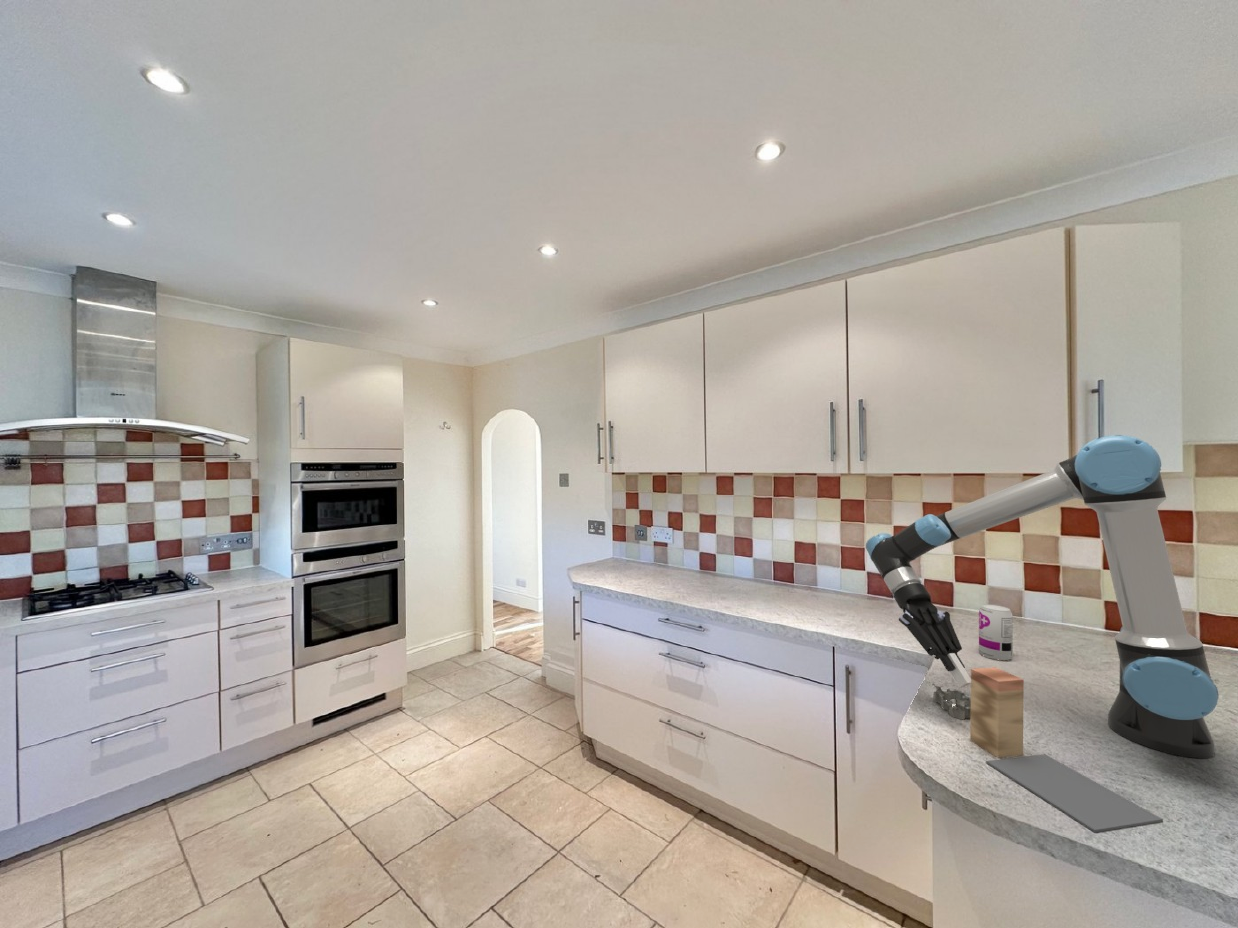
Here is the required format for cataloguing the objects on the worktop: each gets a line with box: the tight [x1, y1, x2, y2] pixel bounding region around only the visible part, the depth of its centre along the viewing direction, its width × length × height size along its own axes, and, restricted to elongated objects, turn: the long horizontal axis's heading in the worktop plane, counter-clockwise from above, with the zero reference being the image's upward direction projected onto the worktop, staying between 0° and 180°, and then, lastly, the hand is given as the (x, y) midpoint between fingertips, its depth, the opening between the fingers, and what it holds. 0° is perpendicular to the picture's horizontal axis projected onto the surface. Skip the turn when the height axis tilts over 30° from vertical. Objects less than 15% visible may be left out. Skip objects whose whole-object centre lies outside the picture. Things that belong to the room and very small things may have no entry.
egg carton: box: [932, 683, 971, 721], centre depth 114 cm, size 11×8×4 cm
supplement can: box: [978, 603, 1014, 661], centre depth 148 cm, size 8×8×15 cm
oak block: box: [969, 666, 1025, 759], centre depth 98 cm, size 6×6×15 cm
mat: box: [985, 753, 1164, 834], centre depth 85 cm, size 18×14×1 cm
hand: (966, 684), depth 105 cm, fingers closed
